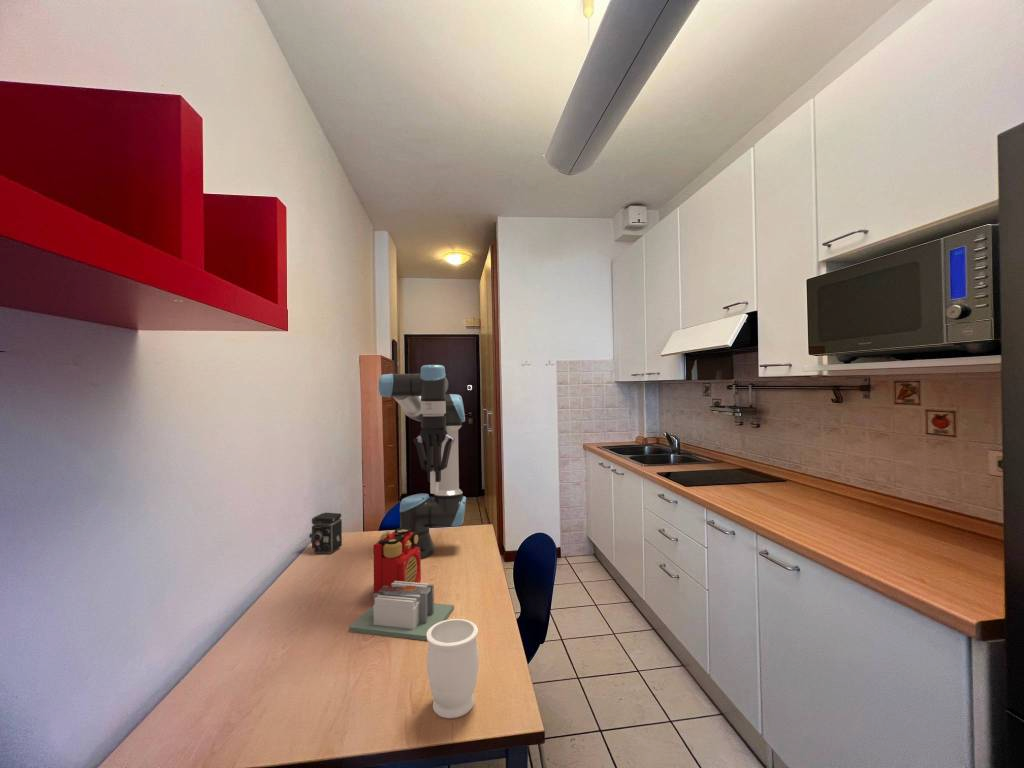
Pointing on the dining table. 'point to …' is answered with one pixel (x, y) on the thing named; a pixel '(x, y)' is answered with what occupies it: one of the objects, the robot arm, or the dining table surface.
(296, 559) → the dining table surface
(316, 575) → the dining table surface
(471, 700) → the jar
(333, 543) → the camera
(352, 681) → the dining table surface
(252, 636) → the dining table surface
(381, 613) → the heatsink
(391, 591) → the strap
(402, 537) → the radio
